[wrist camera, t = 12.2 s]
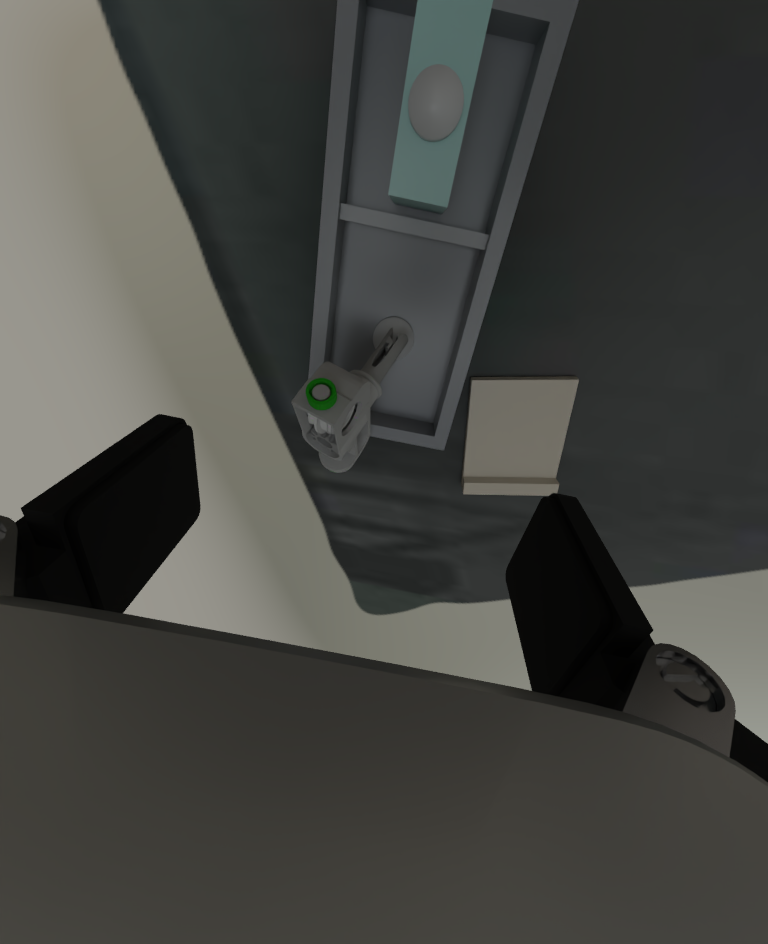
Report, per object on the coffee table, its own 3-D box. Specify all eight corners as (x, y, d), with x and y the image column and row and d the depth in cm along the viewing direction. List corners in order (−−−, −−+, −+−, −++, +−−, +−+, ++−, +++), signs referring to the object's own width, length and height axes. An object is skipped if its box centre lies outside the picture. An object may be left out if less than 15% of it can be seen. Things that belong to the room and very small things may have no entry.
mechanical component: (379, 369, 32) (313, 464, 29) (382, 266, 23) (285, 392, 20) (409, 385, 32) (346, 483, 29) (427, 287, 22) (334, 419, 19)
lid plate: (470, 377, 30) (473, 384, 29) (575, 376, 30) (583, 383, 28) (461, 483, 36) (463, 494, 34) (550, 484, 35) (556, 495, 33)
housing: (353, -17, 20) (322, -139, 14) (556, 30, 20) (621, -67, 14) (315, 406, 33) (289, 447, 26) (441, 431, 33) (447, 478, 26)
